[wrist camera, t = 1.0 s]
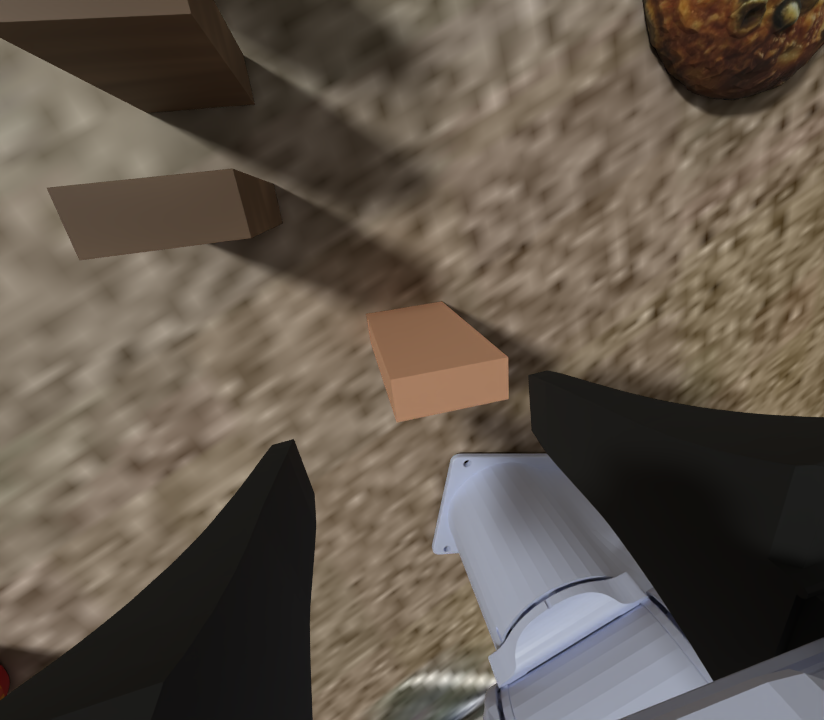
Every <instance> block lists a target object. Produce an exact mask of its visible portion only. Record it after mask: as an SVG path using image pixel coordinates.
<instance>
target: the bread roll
mask: <svg viewBox="0 0 824 720" xmlns="http://www.w3.org/2000/svg"><path fill="white" fill-rule="evenodd" d="M643 5H644V11H645V17H646V22H647V27H648V31H649V37H650V42H651V44H652V46H654V47H655V48H656V50H657V53H658V55H659V57H660V59H661V61H662V62H663V64H664V66H665V67H666V69H667V71H668V73H670V74H671V75H673V77H674V78H676V79H677V80H679V81H680V82H681V83H682V84H684V85H685V86H686V87H687V89H688V90H690V91H692V92H693V93H695V94H698V95H701V96H706V97H710V98H714V99H724V100H736V99H739V98H743V97H748V96H751V95H754V94H757V93H760V92H764V91H767V90H770V89H773V88H775V87H778V86H780V85H782V84H783V83H784V82H786V81H787V80H788V79H789V78H790V77H792V76H793V75H794V74H795V72H796V71H797V70H798V69H800V68H801V67H802V66H804V65H805V64H806V63H807V62H808V61H809V60H810V58H811V57H812V56H813V54H814V53H815V52H816V51H817V50H818V49H819V48H820V47H821V46H822V45H823V44H824V0H643Z"/></svg>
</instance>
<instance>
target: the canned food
mask: <svg viewBox="0 0 824 720" xmlns="http://www.w3.org/2000/svg"><path fill="white" fill-rule="evenodd" d="M9 685H10V681H9V676H8V674H7V672H6V671H5V669H4V668H3V666H2V665H1V664H0V700H1V699H3V698H4V697H5V696H7V693H8V690H9Z"/></svg>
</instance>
